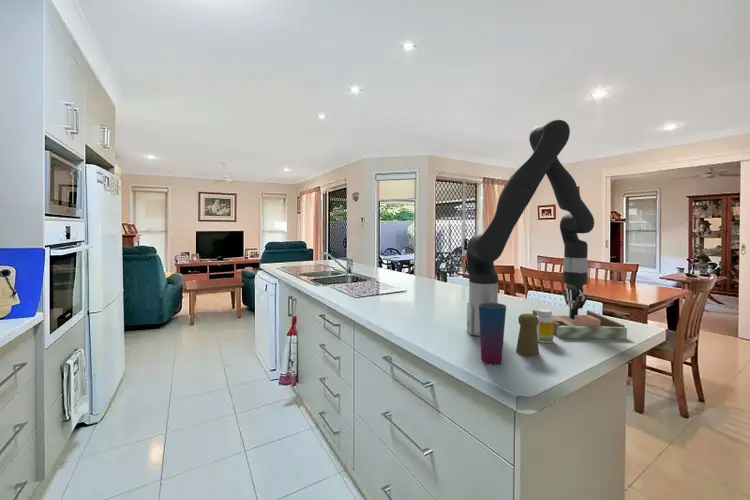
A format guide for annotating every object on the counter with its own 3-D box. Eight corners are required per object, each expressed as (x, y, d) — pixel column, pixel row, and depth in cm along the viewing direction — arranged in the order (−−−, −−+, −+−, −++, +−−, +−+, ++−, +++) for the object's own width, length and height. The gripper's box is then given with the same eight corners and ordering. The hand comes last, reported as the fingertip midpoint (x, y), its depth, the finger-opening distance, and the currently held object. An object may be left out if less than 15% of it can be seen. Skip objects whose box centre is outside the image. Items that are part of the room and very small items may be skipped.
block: (584, 330, 111) (584, 319, 111) (574, 325, 117) (574, 315, 117) (600, 330, 111) (600, 320, 111) (589, 325, 117) (589, 315, 117)
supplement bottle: (530, 339, 109) (530, 309, 108) (541, 337, 111) (542, 307, 111) (545, 344, 104) (546, 313, 103) (556, 341, 106) (557, 311, 106)
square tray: (558, 337, 110) (558, 325, 110) (532, 320, 131) (532, 310, 131) (626, 338, 109) (627, 326, 109) (589, 321, 130) (589, 310, 130)
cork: (541, 357, 94) (543, 317, 93) (518, 355, 95) (519, 316, 94) (536, 349, 100) (537, 312, 99) (514, 348, 101) (514, 311, 100)
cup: (473, 357, 94) (474, 302, 93) (498, 356, 95) (499, 302, 94) (483, 366, 87) (484, 308, 86) (509, 365, 88) (511, 307, 87)
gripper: (555, 268, 127) (554, 314, 128) (573, 272, 114) (571, 324, 115) (576, 268, 127) (575, 314, 128) (597, 272, 114) (595, 324, 115)
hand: (573, 318), depth 122 cm, fingers closed
